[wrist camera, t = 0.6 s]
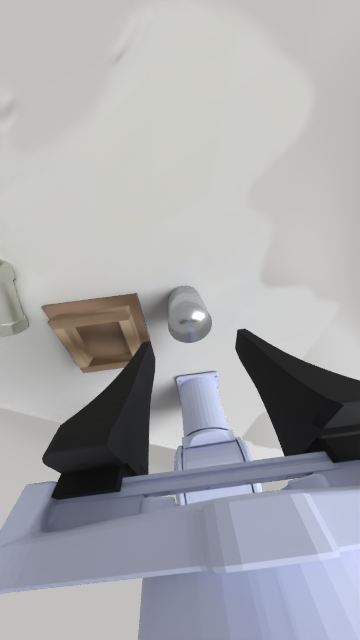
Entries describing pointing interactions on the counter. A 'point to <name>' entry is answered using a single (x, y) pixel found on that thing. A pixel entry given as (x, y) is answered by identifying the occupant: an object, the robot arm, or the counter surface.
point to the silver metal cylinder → (187, 315)
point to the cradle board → (99, 330)
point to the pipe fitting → (10, 303)
